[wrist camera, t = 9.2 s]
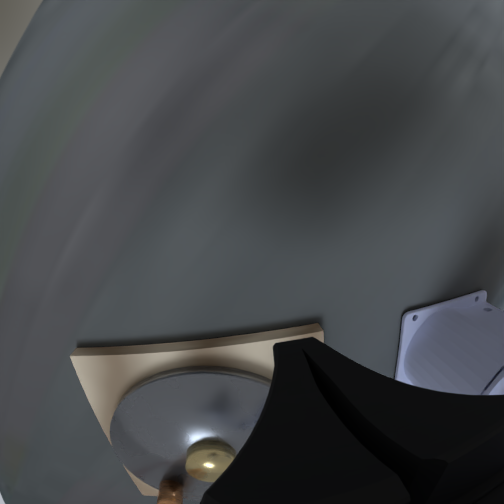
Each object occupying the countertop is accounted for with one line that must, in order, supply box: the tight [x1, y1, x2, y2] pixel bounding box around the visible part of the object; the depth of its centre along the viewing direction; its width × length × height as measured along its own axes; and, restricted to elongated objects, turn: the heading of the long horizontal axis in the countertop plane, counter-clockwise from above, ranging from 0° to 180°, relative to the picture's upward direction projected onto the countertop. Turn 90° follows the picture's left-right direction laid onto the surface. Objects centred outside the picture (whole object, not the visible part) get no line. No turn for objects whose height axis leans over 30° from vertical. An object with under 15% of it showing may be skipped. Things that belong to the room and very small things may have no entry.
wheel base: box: [70, 323, 324, 496], centre depth 20 cm, size 17×17×1 cm
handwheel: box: [110, 366, 272, 504], centre depth 17 cm, size 15×15×5 cm
